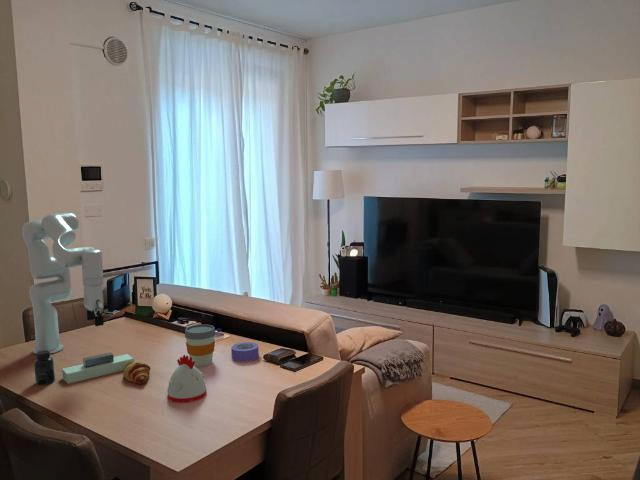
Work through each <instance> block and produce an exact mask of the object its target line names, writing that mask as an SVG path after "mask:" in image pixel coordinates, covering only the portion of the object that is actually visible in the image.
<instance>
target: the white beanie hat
mask: <svg viewBox="0 0 640 480" xmlns="http://www.w3.org/2000/svg"><path fill="white" fill-rule="evenodd" d="M176 361H177V365H178V366H177V368H176V367H175V370H174V371H173V373H172V374H171V376H170V379H169V381H168V387H167V399H168V400H169V401H171V402H173V403H178V404H179V403H180V404H183V403H185V404H186V403H191V402H192V403H193V402H195V401H200V400H201V399H203V398H205V396H207V393H208V392H207V386H206V382H205V375H204V373H203V372H202V371H200V370H199V369H198V367H196V366H194V363H195V361H193V362H192V357H190V358H189V355H185V354H184V355H182V356H180V357H179V358H178V359H177V360H176Z"/></svg>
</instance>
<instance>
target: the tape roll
mask: <svg viewBox="0 0 640 480" xmlns="http://www.w3.org/2000/svg"><path fill="white" fill-rule="evenodd" d="M230 348H231V349H230V350H231V360H233V361H235V362H240V363H241V362H242V363H244V362H245V363H247V362H252V361H256V360H257V359H258V358H259V355H260V353H259V344H258V343H255V342H250V341H248V342H247V341H245V342H238V343H237V342H236V343H235V344H233V345H231V347H230Z"/></svg>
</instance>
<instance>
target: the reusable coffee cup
mask: <svg viewBox="0 0 640 480" xmlns="http://www.w3.org/2000/svg"><path fill="white" fill-rule="evenodd" d="M215 335H216V329H215V326H214V325H211V324H194V325H190V326H188V327H186V328H185V331H184V338H185V340H186V341H185V345H186V351H187V355H188V358H190V357H192V362H193V361H195V363H194V366H195V367H196V368H198V367H207V366H209V365H211V364H212V363H213V355H214V354H213V353H214V352H215V343H216V339H215Z"/></svg>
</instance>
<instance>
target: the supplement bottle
mask: <svg viewBox="0 0 640 480" xmlns="http://www.w3.org/2000/svg"><path fill="white" fill-rule="evenodd" d="M35 355H36V356H35V358H36V359H35V360H34V362H33V366H34V367H33V369H34V378H35V379H34V380H35V384H36V385H39V386H45V385H49V384H52V383H54V382H55V381H56V374H55V363H54V362H55V361H54V358H53V357H51V354H50V351H48V350H45V351H39V352H37V353H36V354H35Z"/></svg>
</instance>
